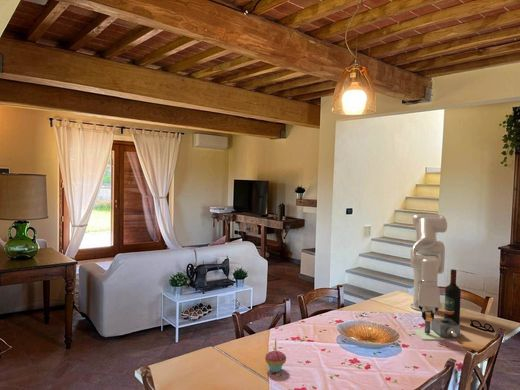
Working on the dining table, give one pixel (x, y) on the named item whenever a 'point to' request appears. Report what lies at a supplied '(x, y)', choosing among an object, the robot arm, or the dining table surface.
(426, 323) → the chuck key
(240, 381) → the dining table surface
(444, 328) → the chuck block
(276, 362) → the cupcake
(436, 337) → the mat
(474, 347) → the dining table surface
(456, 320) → the wine bottle
